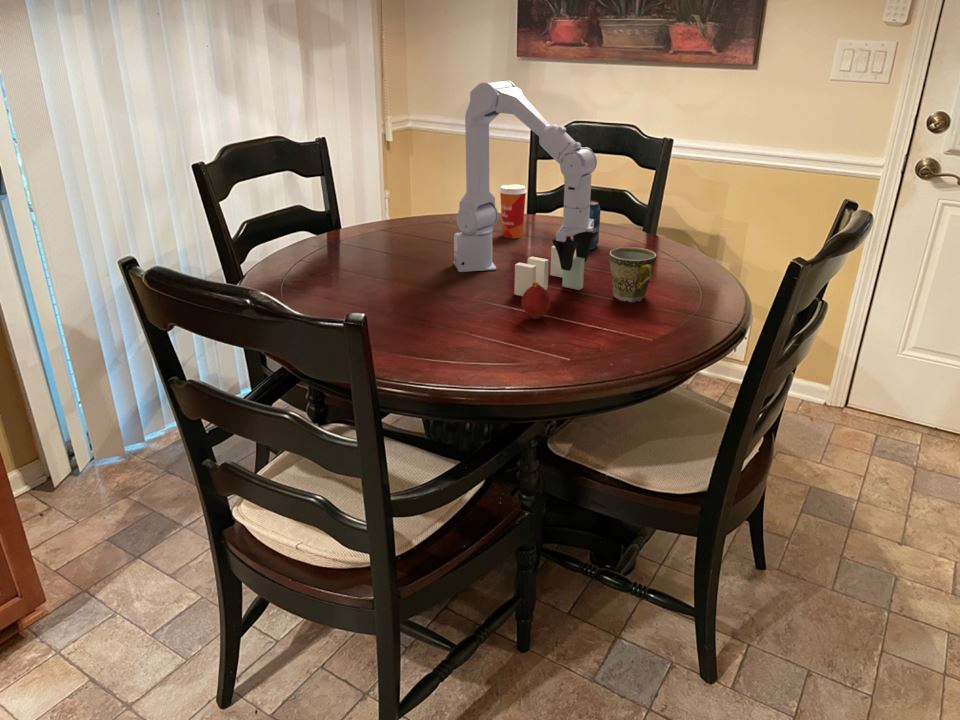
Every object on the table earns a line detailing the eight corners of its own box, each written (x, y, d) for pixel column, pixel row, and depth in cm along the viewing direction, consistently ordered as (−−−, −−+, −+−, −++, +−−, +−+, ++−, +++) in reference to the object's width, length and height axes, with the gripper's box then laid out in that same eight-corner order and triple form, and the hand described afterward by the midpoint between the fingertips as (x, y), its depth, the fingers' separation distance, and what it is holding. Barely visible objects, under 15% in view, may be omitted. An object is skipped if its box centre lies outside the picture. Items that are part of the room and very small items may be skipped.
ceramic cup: (598, 292, 168) (601, 249, 164) (636, 287, 171) (640, 245, 167) (628, 312, 157) (632, 266, 153) (668, 306, 160) (673, 261, 156)
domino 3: (566, 278, 177) (567, 249, 174) (550, 275, 180) (551, 246, 177) (570, 276, 179) (571, 248, 176) (553, 273, 181) (555, 245, 178)
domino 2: (543, 291, 169) (544, 261, 166) (526, 287, 171) (527, 258, 168) (547, 289, 170) (548, 259, 168) (530, 285, 173) (531, 256, 170)
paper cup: (495, 233, 214) (495, 184, 208) (520, 231, 216) (521, 183, 210) (504, 241, 207) (504, 190, 201) (529, 238, 209) (531, 188, 203)
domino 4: (579, 289, 170) (580, 260, 167) (562, 286, 172) (563, 257, 169) (582, 287, 171) (584, 258, 168) (565, 284, 173) (567, 255, 170)
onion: (532, 311, 157) (533, 275, 154) (554, 317, 154) (556, 280, 151) (515, 319, 153) (516, 282, 150) (538, 326, 150) (539, 288, 147)
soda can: (590, 251, 198) (592, 206, 193) (567, 247, 201) (569, 202, 196) (602, 245, 203) (605, 201, 198) (580, 241, 206) (583, 198, 201)
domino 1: (531, 298, 165) (532, 267, 162) (514, 294, 167) (514, 264, 164) (535, 295, 166) (536, 265, 163) (518, 292, 169) (519, 262, 166)
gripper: (577, 214, 156) (574, 276, 162) (607, 201, 167) (603, 260, 173) (548, 210, 160) (546, 271, 165) (579, 198, 171) (576, 255, 176)
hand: (573, 265), depth 169 cm, fingers open, 7 cm apart
